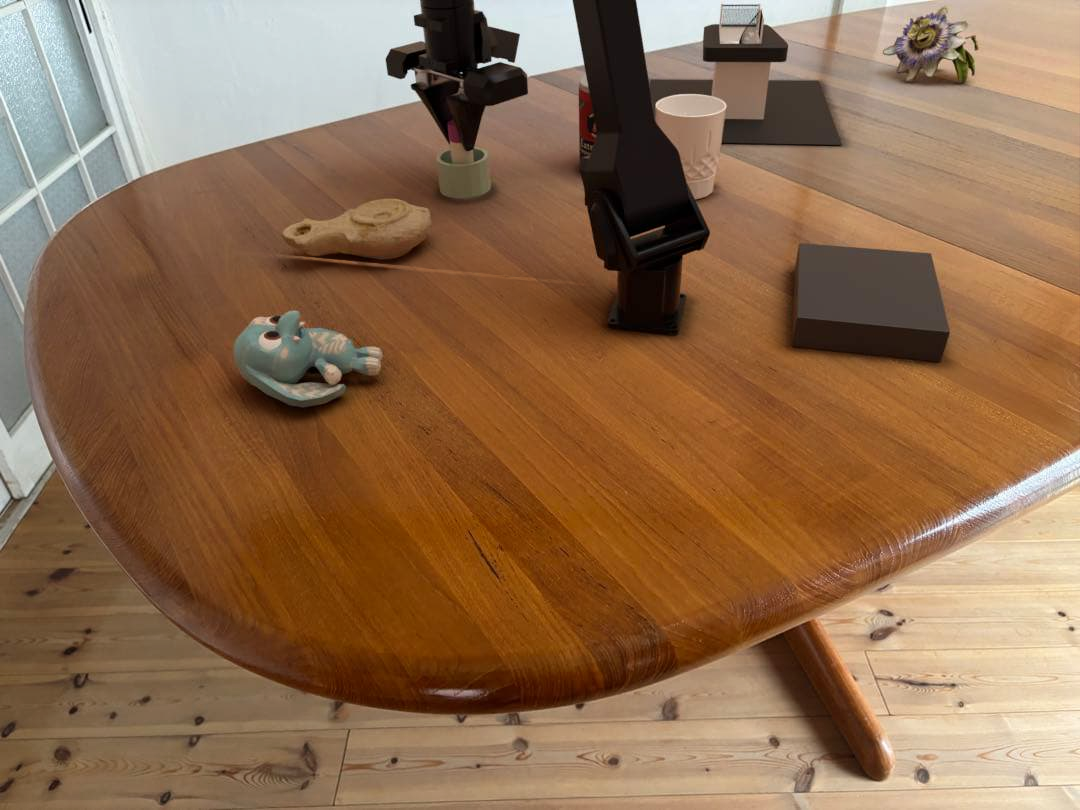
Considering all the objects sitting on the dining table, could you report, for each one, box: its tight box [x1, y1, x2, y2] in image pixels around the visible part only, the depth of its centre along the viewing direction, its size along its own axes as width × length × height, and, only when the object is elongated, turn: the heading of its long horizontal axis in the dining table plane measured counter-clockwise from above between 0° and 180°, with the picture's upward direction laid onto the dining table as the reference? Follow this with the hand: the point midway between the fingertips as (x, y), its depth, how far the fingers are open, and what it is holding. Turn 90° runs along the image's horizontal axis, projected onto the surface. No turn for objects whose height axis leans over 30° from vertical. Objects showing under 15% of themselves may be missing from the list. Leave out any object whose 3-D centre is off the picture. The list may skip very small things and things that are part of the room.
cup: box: [435, 146, 492, 200], centre depth 99 cm, size 6×6×4 cm
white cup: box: [655, 94, 727, 201], centre depth 95 cm, size 8×8×10 cm
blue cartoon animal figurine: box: [232, 309, 384, 408], centre depth 68 cm, size 11×7×12 cm
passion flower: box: [882, 5, 980, 85], centre depth 127 cm, size 11×11×12 cm
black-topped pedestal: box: [649, 3, 843, 146], centre depth 116 cm, size 28×26×13 cm
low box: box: [791, 242, 951, 363], centre depth 74 cm, size 14×12×3 cm
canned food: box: [578, 74, 596, 161], centre depth 101 cm, size 8×8×11 cm
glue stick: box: [447, 120, 474, 164], centre depth 97 cm, size 3×3×8 cm
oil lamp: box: [281, 198, 433, 260], centre depth 86 cm, size 11×14×5 cm
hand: (461, 147), depth 97 cm, fingers closed on glue stick, 3 cm apart
